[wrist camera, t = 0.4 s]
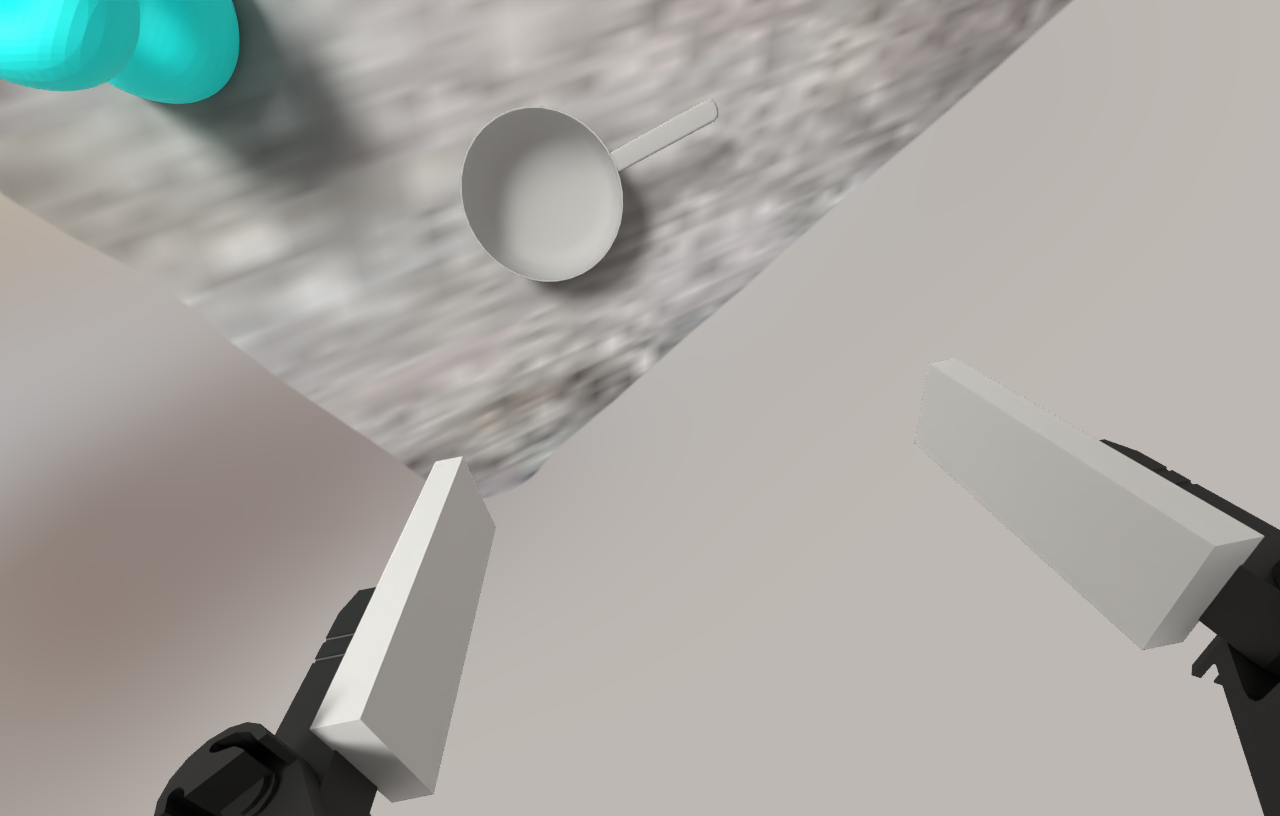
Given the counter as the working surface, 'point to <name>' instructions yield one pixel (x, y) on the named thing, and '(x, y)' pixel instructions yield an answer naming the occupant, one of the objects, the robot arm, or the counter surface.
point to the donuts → (121, 46)
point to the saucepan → (554, 187)
